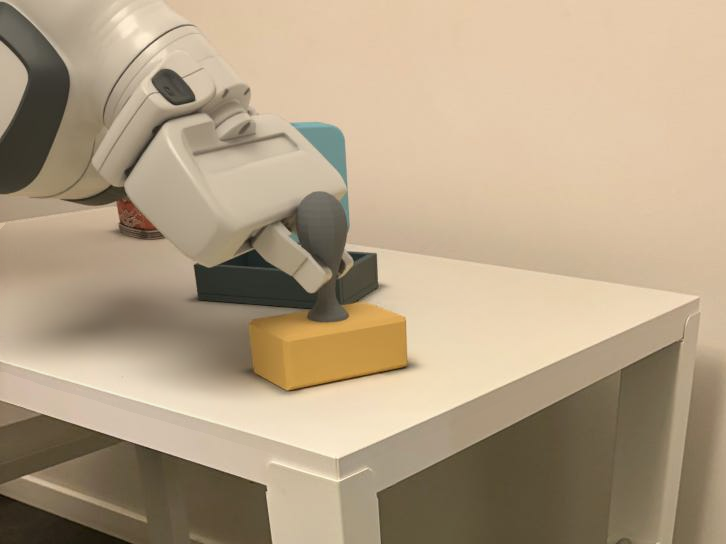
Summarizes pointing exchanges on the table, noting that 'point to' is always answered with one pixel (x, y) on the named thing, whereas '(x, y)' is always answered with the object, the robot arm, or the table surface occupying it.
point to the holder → (279, 282)
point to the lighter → (135, 221)
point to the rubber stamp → (326, 318)
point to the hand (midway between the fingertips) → (334, 279)
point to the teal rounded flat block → (327, 152)
